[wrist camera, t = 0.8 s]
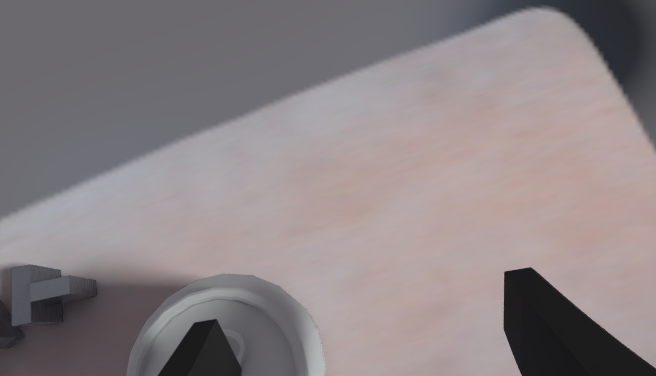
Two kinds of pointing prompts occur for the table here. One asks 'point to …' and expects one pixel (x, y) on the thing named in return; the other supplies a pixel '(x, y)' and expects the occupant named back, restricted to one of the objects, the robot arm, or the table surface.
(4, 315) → the ring collar
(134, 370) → the can
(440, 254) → the table surface
